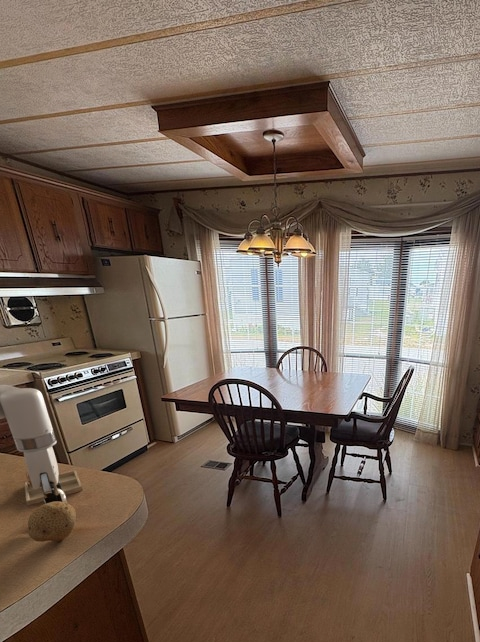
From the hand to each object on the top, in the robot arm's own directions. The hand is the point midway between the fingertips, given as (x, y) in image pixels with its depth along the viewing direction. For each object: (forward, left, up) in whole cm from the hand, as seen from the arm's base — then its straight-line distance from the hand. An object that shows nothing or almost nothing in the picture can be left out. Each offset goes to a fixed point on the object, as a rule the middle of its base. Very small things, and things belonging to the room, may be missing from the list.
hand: (56, 503), depth 89 cm
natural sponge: (+4, -11, -4) cm, 13 cm away
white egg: (0, 0, -2) cm, 2 cm away
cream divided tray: (-7, +14, -3) cm, 16 cm away
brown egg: (-11, +15, -3) cm, 19 cm away
